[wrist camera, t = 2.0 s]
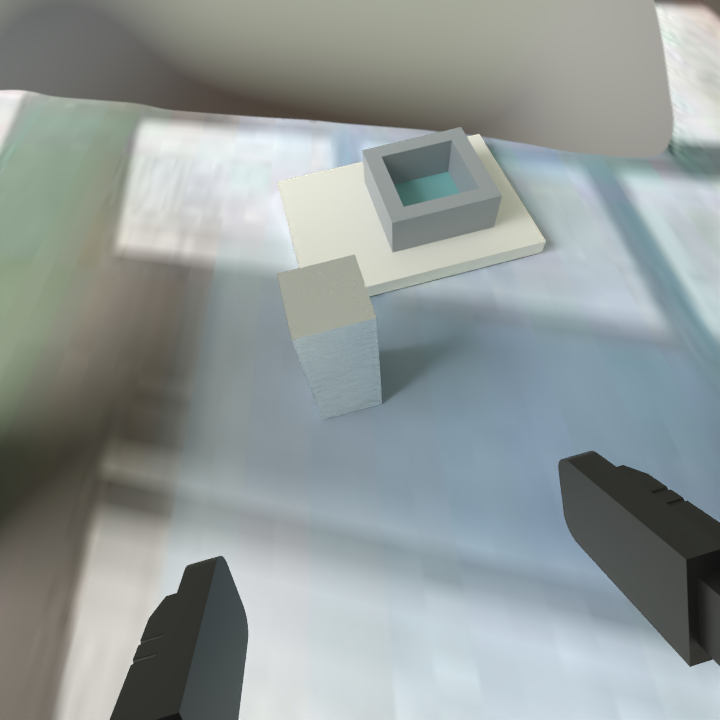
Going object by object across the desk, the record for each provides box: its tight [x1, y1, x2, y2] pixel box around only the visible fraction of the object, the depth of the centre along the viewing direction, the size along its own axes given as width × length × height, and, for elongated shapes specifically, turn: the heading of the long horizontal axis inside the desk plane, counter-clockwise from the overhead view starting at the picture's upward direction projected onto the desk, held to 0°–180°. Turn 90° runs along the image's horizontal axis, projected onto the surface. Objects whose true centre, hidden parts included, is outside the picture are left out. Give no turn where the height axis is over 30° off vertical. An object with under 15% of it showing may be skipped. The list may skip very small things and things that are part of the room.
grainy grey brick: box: [277, 255, 382, 420], centre depth 26 cm, size 4×4×10 cm
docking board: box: [277, 127, 546, 297], centre depth 36 cm, size 18×13×4 cm
